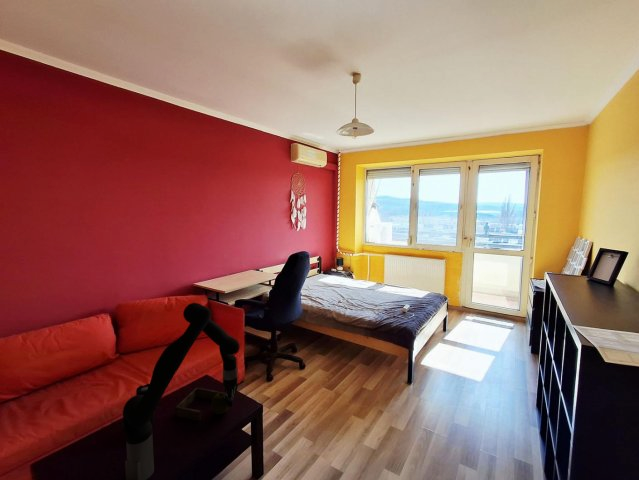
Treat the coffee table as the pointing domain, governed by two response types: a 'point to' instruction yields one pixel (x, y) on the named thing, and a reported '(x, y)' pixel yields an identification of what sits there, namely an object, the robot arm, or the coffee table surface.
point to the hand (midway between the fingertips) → (230, 405)
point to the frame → (197, 392)
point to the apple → (219, 404)
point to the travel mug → (141, 391)
